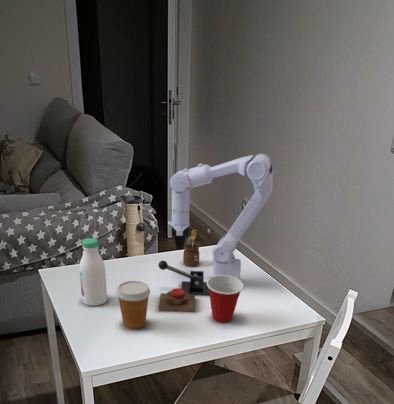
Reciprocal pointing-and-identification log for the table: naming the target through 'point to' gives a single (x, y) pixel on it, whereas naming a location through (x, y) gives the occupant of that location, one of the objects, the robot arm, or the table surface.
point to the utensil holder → (191, 253)
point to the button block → (177, 303)
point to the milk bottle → (92, 274)
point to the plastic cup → (223, 296)
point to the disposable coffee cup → (133, 303)
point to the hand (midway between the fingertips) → (179, 248)
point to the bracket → (196, 284)
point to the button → (177, 293)
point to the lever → (174, 269)
